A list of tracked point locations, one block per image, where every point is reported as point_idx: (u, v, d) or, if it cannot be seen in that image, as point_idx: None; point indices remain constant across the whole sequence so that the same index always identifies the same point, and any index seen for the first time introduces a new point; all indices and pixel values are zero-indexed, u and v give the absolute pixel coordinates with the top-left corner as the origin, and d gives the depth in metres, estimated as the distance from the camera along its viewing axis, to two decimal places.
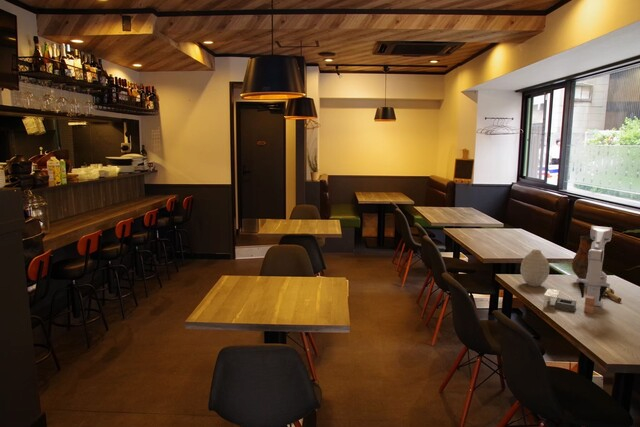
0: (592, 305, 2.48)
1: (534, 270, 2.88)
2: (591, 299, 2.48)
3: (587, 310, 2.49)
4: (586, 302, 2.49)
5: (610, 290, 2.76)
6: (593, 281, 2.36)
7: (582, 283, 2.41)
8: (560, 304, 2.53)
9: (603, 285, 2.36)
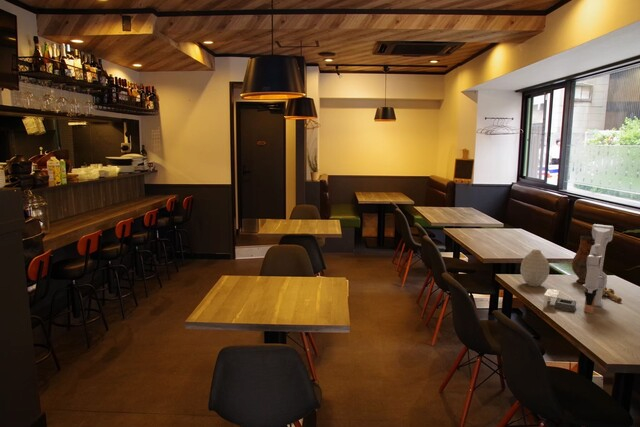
0: (592, 305, 2.48)
1: (534, 270, 2.88)
2: None
3: (587, 310, 2.49)
4: None
5: (610, 290, 2.76)
6: (585, 284, 2.50)
7: None
8: (560, 304, 2.53)
9: None
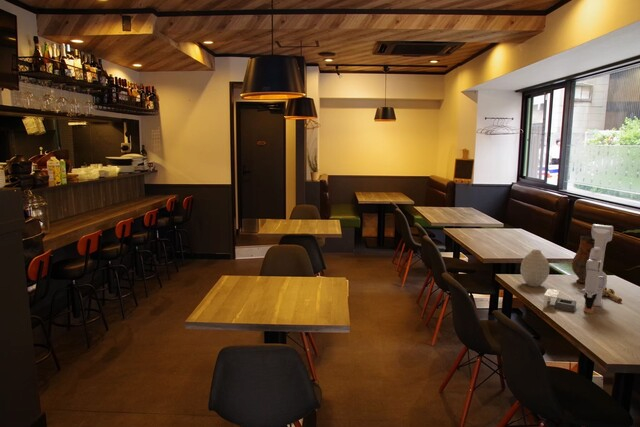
0: (592, 305, 2.48)
1: (534, 270, 2.88)
2: None
3: (587, 310, 2.49)
4: None
5: (610, 290, 2.76)
6: (585, 288, 2.50)
7: None
8: (560, 304, 2.53)
9: None
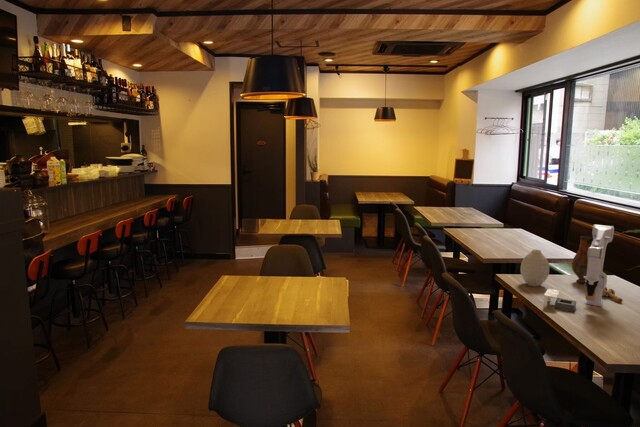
0: None
1: (534, 270, 2.88)
2: None
3: (588, 298, 2.48)
4: None
5: (611, 291, 2.75)
6: (586, 275, 2.49)
7: None
8: (560, 304, 2.53)
9: None
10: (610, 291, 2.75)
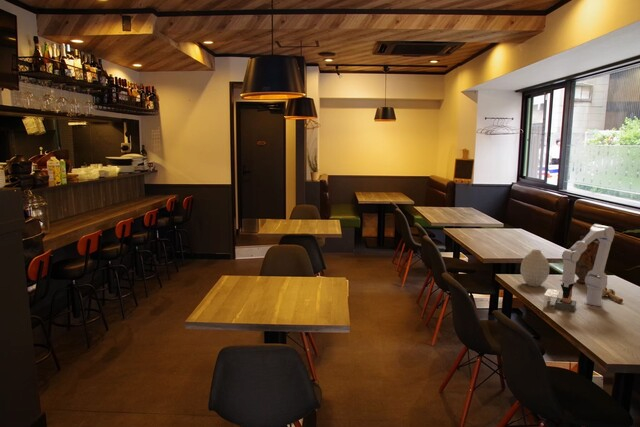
0: (569, 295, 2.52)
1: (534, 270, 2.88)
2: None
3: (564, 300, 2.54)
4: None
5: (611, 291, 2.75)
6: (562, 278, 2.55)
7: None
8: (560, 304, 2.53)
9: None
10: (610, 291, 2.75)
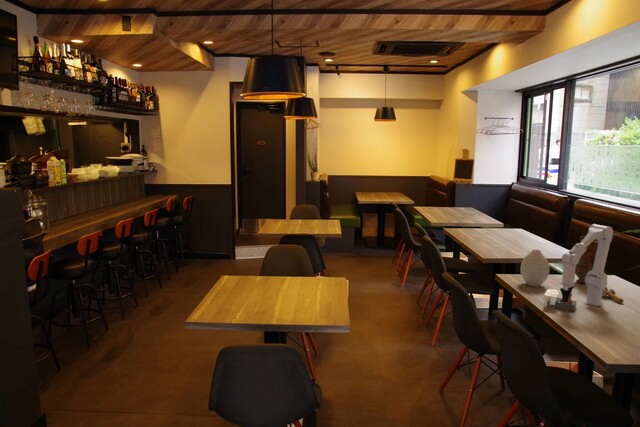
0: (569, 301, 2.53)
1: (534, 270, 2.88)
2: None
3: None
4: None
5: (611, 291, 2.75)
6: (562, 281, 2.55)
7: None
8: (560, 304, 2.53)
9: None
10: (611, 291, 2.75)
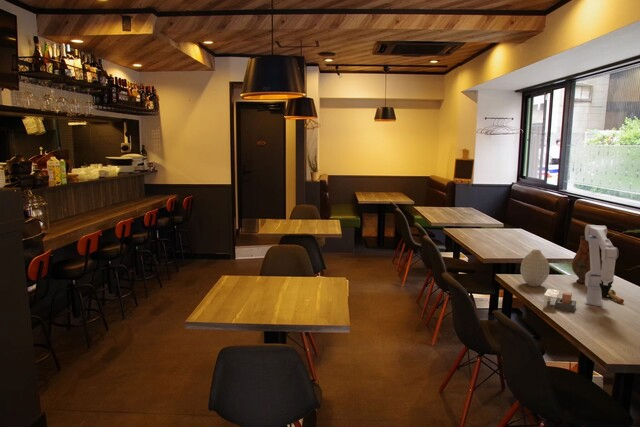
0: (569, 301, 2.53)
1: (534, 270, 2.88)
2: (568, 295, 2.53)
3: None
4: (563, 298, 2.54)
5: (612, 291, 2.74)
6: (600, 276, 2.48)
7: None
8: (560, 304, 2.53)
9: None
10: (611, 292, 2.74)
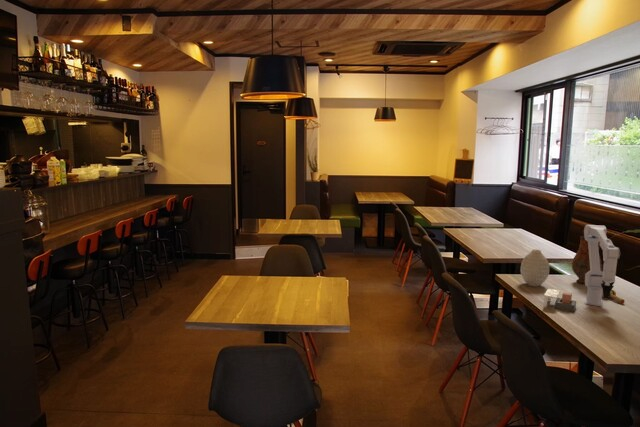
0: (569, 301, 2.53)
1: (534, 270, 2.88)
2: (568, 295, 2.53)
3: None
4: (563, 298, 2.54)
5: (612, 291, 2.74)
6: (602, 276, 2.48)
7: None
8: (560, 304, 2.53)
9: None
10: (611, 292, 2.74)
